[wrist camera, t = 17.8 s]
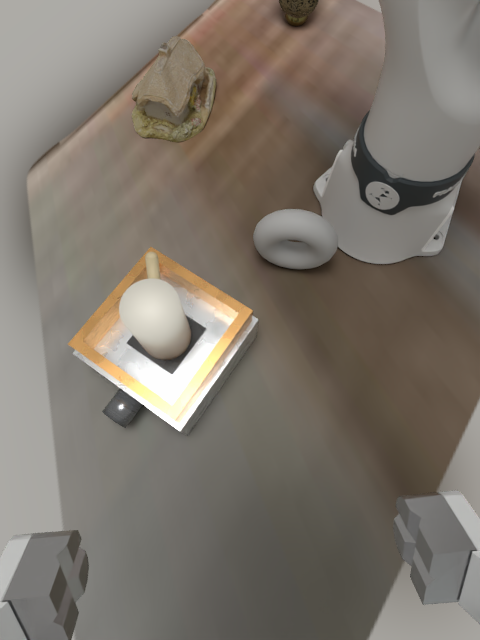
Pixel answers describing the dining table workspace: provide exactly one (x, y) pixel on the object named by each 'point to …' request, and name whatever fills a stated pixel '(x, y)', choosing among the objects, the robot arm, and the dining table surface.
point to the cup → (297, 10)
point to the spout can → (155, 314)
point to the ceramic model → (174, 94)
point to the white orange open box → (175, 374)
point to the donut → (295, 226)
